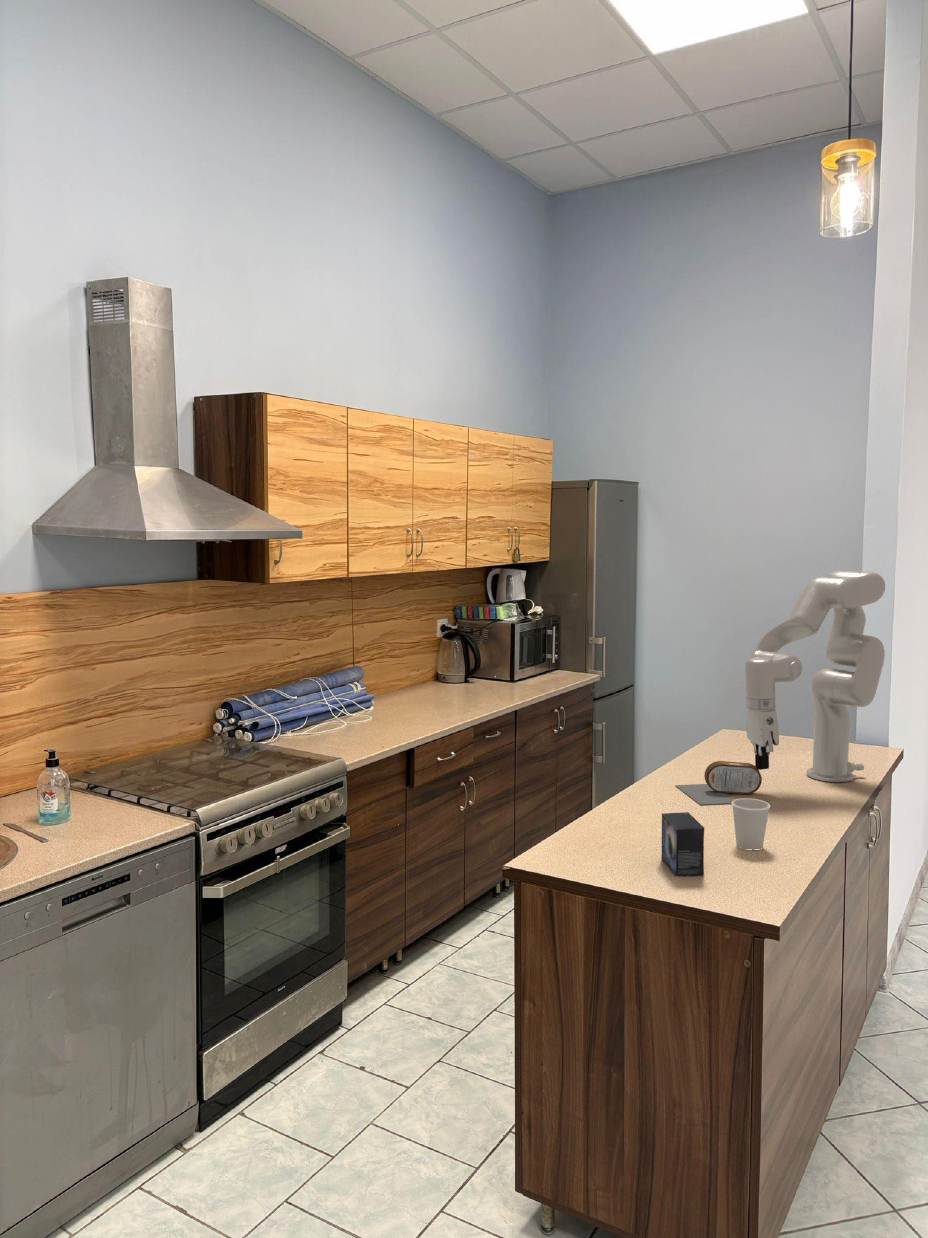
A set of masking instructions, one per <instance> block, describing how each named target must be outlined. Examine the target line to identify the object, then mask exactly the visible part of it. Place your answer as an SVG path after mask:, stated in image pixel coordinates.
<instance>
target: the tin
mask: <svg viewBox="0 0 928 1238" xmlns="http://www.w3.org/2000/svg"><path fill="white" fill-rule="evenodd" d="M704 781H705V784H707V785H708V786H709V787H710V788H711V789H712V790H714V791H716V792H721V793H727V794H737V795H751V794H754V793H756V792H757V791H759V789H760V788H761V785H762V781H763V778H762V773H760V770H758V769H757V767H755V764H752V763H749V762H737V761H726V760H725V761H724V760H717V761H713V762H712V763H710V764H709V765H707V767H706V769H705V771H704Z"/></svg>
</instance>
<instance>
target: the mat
mask: <svg viewBox="0 0 928 1238" xmlns="http://www.w3.org/2000/svg"><path fill="white" fill-rule="evenodd" d="M674 786H675V787H676V788H677V789H678V790H679V791H681V792H682V793H684V794H685V795H686V796H687V797H689V799H691V800H692V801H694V802H695V803H696V804H698V805H699V806H714V805H715V806H717V805H732V801H734V800H736V798H734V797H733V796H731V794H730V793H721V792H716V791H714V790H712V789H711V788H710V787H709V786H708V785H707V783H695V784H676V785H674Z"/></svg>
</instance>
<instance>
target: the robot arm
mask: <svg viewBox="0 0 928 1238" xmlns="http://www.w3.org/2000/svg"><path fill="white" fill-rule="evenodd" d="M885 582H886V581H885V580H884V578H883V576H882V575H880V574H879V573H877V572H872V571H851V570H838V571H832V572H830V573H828V574H827V575H826V576H824V577H823V576H822V577H821V576H820V577H814V578H813V579H811V580H810V581H809V582H808V583H807V585H806V586H805V587H804V590H803V592H802V593H801V595H800V596H799V598H798V600H797V602H796V604H795V605H794V608H793V609H792V611H791V613H790V615H789V616H788V617H787V618H786V619H784V620H783V621H781V622H780V623H778V624H777V625H775V626H774V627H772V628H771V629H770V630H768V631H767V632H766V633H765V634H764V635H762V637H761V638H760V640H759V641H758V643H757V644H756V646H755V648H754V650H753V651H752V654H751V656H750V658H748V659H747V660H746V661H745V691H746V692H745V698H746V699H745V701H746V702H745V705H746V706H745V708H746V710H747V711H746V724H745V725H746V727H745V728H746V738H747V739H748V740H749V741H750V743H751V744H752V745H753V752H754V759H755V760H754V763H755V764H754V766H755V767H757V769H758V770H759V771H761V770H768V769H770V754H771V753H773V752H774V746H779V745H780V731H779V723H778V715H777V711H776V708H777V707H776V684H777V683H789V682H793V681H795V680H797V679H798V678H799V677H800V676H801V674H802V672H803V663H802V661H801V660H800V659H799V658H798V657H797V656H795V655H792V654H788V653H782V652H781V653H780V652H778V651H780V649H782V648H783V647H785V646H787V645H789V644H791V643H793V642H796V641H799V640H804V639H807V638H810V637H812V636H814V635H816V634H817V633H818V632H819V630H820V628H821V626H822V624H823V622H824V620H825V619H826V616H827V615H828V614H829V612H830V610H831V609H833V614H834V615H833V616H834V617H833V622H832V626H831V630H830V634H829V638H828V641H827V645H826V649H825V650H826V651H825V652H826V653H825V654H826V655H825V657H826V659H827V660H828V662H829V663H831V664H834V665H838V666H841V667H847V668H855V671H850V670H849V671H848V670H846V669H845V670H844V669H837V668H823V669H820V670H819V671H817V672H816V673H815V674H814V676H813V677H812V679H811V692H812V697H813V704H814V705H813V707H814V719H813V720H814V721H813V722H814V723H813V745H812V746H813V749H812V750H813V752H812V768H809V769H807V770H806V776H807V777H809V778H811V779H812V780H817V781H822V782H829V783H830V782H831V783H847V782H851V781H853V780H854V774H853V772H855V771H858V772H859V771H864V769H865V766H864V763H855V762H851V761H849V749H850V747H849V746H850V726H851V717H850V712H849V710H848V708H847V706H851V707H857V708H865V707H867V706H869V705H870V704H871V703H872V702H873V700H874V698H875V697H876V694H877V689H878V686H879V681H880V678H881V676H882V675H881V673H882V671H883V666H884V662H885V655H886V653H885V647H884V644H883V642H882V641H881V640H880V639H879V638H878V637H876V636H872V635H866V634H864V631H865V626H866V621H867V620H866V614H865V611H864V609H863V607H864V606H867V605H871V604H875V603H876V602H878V601H879V600H880V599H881V598H882V597H883V595H884V594H885V592H886V583H885Z"/></svg>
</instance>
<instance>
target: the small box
mask: <svg viewBox="0 0 928 1238" xmlns="http://www.w3.org/2000/svg"><path fill="white" fill-rule="evenodd" d="M704 848H705V827H704V826H703V825H702V824H701V823H700V822H699V821H698V820H697V819H696V818H695V817H694V816H693V815H692V814H691V813H690V812H688V811H686V812H685V811H684V812H683V811H682V812H670V813H669V812H667V813H666V812H665V813H664V812H663V813H661V857H660V858H661V860H662V861H663V863H664V864H665V865H666V866H667V867H668V869H669V870H670V871H671V872H672V874H673V873H674V874H673V875H674V877H676V876H682V877H700V875H701V877H702V875H704V876H705V869H704V868H705V867H704V864H705V863H704V862H705V860H704V859H705V857H704V856H705V854H704V853H705V849H704Z"/></svg>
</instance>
